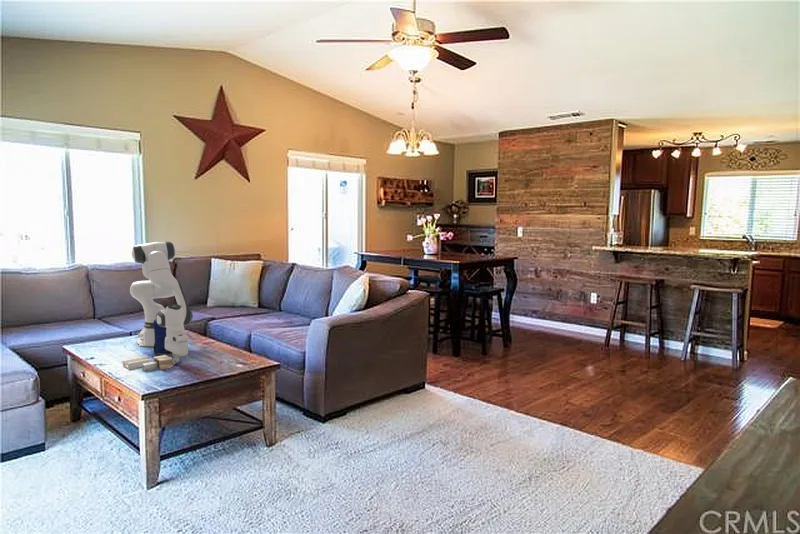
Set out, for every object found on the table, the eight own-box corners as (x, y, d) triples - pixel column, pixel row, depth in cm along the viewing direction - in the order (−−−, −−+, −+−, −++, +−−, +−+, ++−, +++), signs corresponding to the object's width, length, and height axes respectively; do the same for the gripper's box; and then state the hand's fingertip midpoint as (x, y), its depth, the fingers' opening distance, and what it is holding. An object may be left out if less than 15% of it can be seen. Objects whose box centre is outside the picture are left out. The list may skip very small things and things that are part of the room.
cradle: (122, 366, 274) (122, 360, 274) (146, 361, 283) (146, 355, 283) (128, 369, 269) (128, 363, 268) (152, 364, 278) (152, 358, 277)
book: (153, 355, 295) (151, 320, 293) (154, 352, 300) (153, 318, 298) (180, 353, 299) (179, 319, 296) (181, 351, 304) (180, 317, 301)
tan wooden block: (153, 366, 274) (153, 357, 274) (165, 363, 279) (164, 354, 278) (160, 369, 269) (160, 360, 268) (172, 367, 273) (172, 358, 272)
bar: (142, 370, 268) (141, 363, 268) (172, 363, 280) (172, 357, 279) (144, 372, 266) (144, 365, 265) (175, 365, 277) (175, 358, 277)
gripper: (160, 333, 282) (162, 358, 283) (178, 339, 268) (179, 366, 270) (172, 331, 286) (173, 355, 288) (190, 337, 273) (191, 363, 274)
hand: (176, 360), depth 279 cm, fingers closed
